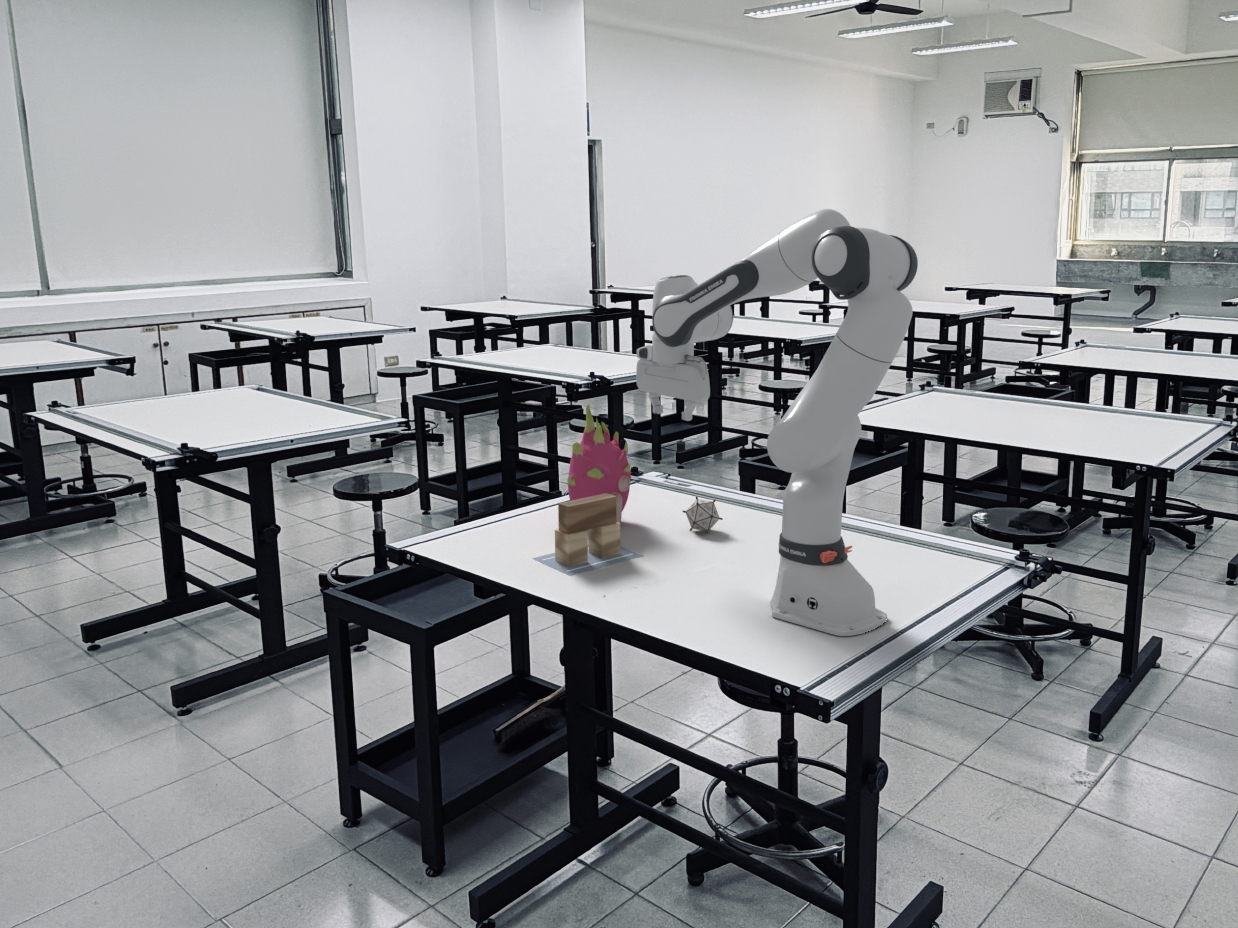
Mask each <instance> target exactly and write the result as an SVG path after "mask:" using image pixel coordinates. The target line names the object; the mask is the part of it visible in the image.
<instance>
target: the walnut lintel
mask: <svg viewBox="0 0 1238 928" xmlns="http://www.w3.org/2000/svg"><path fill="white" fill-rule="evenodd" d="M557 506H558V507H557V512H558V513H557V515H558V516H557V517H558V529H559V531H562V532H564V533H566V534H571V533H576V532H580V531H584V530H586V531H588V529H593V528H597V527H601V526H605V525H609V524H614V523H616V496H613V495H610V494H608V493H605V494H600V495H595V496H591V497H586V498H581V499H577V500H572V501H570V500H569V501H564V502H563V501H562V502H558V503H557Z"/></svg>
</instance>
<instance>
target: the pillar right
mask: <svg viewBox="0 0 1238 928" xmlns="http://www.w3.org/2000/svg"><path fill="white" fill-rule="evenodd" d="M587 538H588V544H589V553H591V554H594V555H596V556H598V557H601V558H605V557H609V556H613V555H617V554H620V547H621V522H616V523H614V524H609V525H605V526H601V527H597V528H593V529H588V530H587Z"/></svg>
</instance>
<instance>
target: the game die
mask: <svg viewBox="0 0 1238 928" xmlns="http://www.w3.org/2000/svg"><path fill="white" fill-rule="evenodd" d="M715 502H716V499H713V501H710V500H705V499H699V498H698V496H697V495H696V496H695V501H694V502H693V503H692V504H691V505H690V507H688V508H687V509H686V510H681V511H682V513H684V514H686V517H687V520H688V522H689V523H688V524H689V525H690V528H689V532H690V531H691V532H692V530H699V531H704V532H706V533H707V534H708V535H710V530H711V529H712V528H713V527H714V525H716V524H717V522H718V521H719V520H720V521H722V520H724V518H723V517H720V515H719V513H718V512H719V511H718V510H717V508H716V504H715Z"/></svg>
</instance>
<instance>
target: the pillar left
mask: <svg viewBox="0 0 1238 928" xmlns="http://www.w3.org/2000/svg"><path fill="white" fill-rule="evenodd" d="M588 544H589V540H588V530H584V531H580V532H576V533H571V534H566V533H564V532H562V531H559V528H557V529H554V553H555V561H557V562H559V563H561V564H563V565H566V566H568V567H570V566H574V565H578V564H582V563H586V562H588Z"/></svg>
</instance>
